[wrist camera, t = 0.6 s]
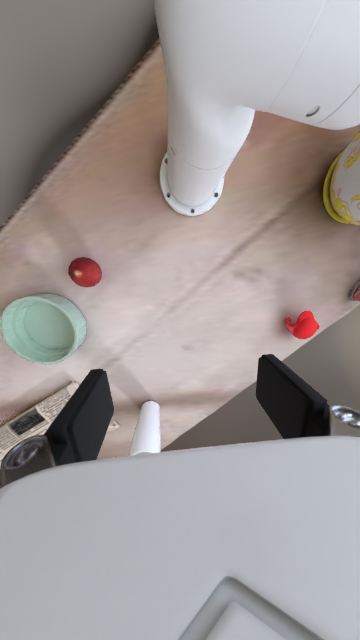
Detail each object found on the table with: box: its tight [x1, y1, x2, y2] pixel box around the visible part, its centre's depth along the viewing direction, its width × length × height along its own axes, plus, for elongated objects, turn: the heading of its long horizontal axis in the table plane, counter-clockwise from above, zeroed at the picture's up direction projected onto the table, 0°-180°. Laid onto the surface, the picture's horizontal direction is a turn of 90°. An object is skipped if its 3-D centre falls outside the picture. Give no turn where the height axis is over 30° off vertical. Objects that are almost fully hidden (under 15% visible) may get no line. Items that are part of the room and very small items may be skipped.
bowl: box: [0, 294, 86, 364], centre depth 40 cm, size 15×15×5 cm
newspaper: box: [0, 382, 120, 465], centre depth 50 cm, size 37×19×3 cm, turn 122°
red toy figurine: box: [286, 311, 319, 339], centre depth 43 cm, size 8×6×6 cm
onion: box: [69, 257, 102, 287], centre depth 36 cm, size 6×6×8 cm
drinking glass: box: [129, 401, 161, 456], centre depth 44 cm, size 7×7×15 cm
